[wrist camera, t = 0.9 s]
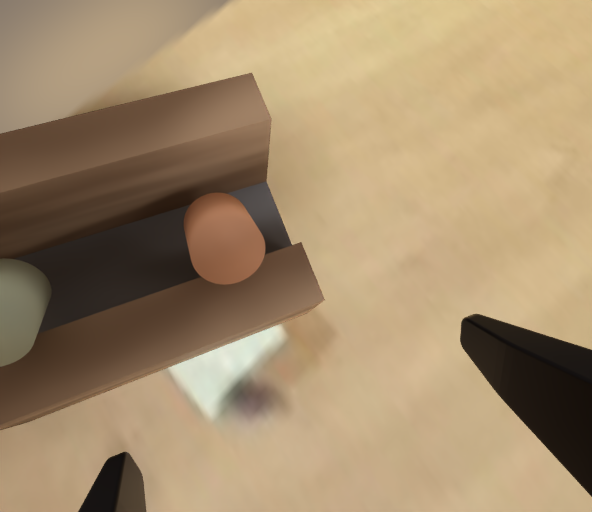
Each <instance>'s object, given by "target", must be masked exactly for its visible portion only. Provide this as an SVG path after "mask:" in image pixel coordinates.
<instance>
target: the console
mask: <svg viewBox="0 0 592 512" xmlns="http://www.w3.org/2000/svg"><path fill="white" fill-rule="evenodd" d="M270 130H271V117H270V114H269V112H268V110H267V107H266V105H265V103H264V100H263V98H262V95H261V93H260V91H259V88H258V86H257V84H256V81H255V79H254V77H253V74H252V73H249V74H245V75H241V76H237V77H233V78H228V79H224V80H220V81H216V82H212V83H208V84H204V85H200V86H195V87H191V88H187V89H183V90H179V91H175V92H171V93H167V94H162V95H158V96H154V97H150V98H146V99H142V100H138V101H134V102H130V103H125V104H121V105H117V106H113V107H109V108H105V109H101V110H97V111H92V112H88V113H84V114H80V115H76V116H72V117H68V118H64V119H59V120H55V121H51V122H47V123H43V124H39V125H35V126H31V127H27V128H23V129H18V130H14V131H10V132H6V133H2V134H0V259H2V258H6V259H15V260H20V261H23V262H26V263H29V264H31V265H33V266H34V267H36V268H38V269H39V270H40V271H41V272H42V273H43V274H44V275H45V276H46V277H47V278H48V280H49V282H50V285H51V289H52V294H51V298H50V301H49V303H48V306H47V309H46V312H45V314H44V317H43V320H42V322H41V325H40V328H39V331H38V333H37V336H36V339H35V341H34V344H33V346H32V348H31V350H30V351H29V352H28V353H27V354H26V355H25V356H24V357H22V358H21V359H19V360H17V361H16V362H13V363H11V364H8V365H5V366H1V367H0V430H3V429H6V428H9V427H13V426H16V425H20V424H23V423H26V422H29V421H32V420H35V419H37V418H40V417H42V416H45V415H47V414H50V413H53V412H55V411H58V410H60V409H63V408H65V407H68V406H70V405H73V404H76V403H78V402H81V401H83V400H86V399H88V398H91V397H94V396H96V395H99V394H101V393H104V392H106V391H109V390H112V389H114V388H117V387H119V386H122V385H124V384H127V383H129V382H132V381H135V380H137V379H140V378H142V377H145V376H147V375H150V374H153V373H155V372H158V371H160V370H163V369H165V368H168V367H170V366H173V365H176V364H178V363H181V362H183V361H186V360H188V359H191V358H194V357H196V356H199V355H201V354H204V353H206V352H209V351H211V350H214V349H217V348H219V347H222V346H224V345H227V344H229V343H232V342H235V341H237V340H240V339H242V338H245V337H247V336H250V335H252V334H255V333H258V332H260V331H263V330H265V329H268V328H270V327H273V326H276V325H278V324H281V323H283V322H286V321H288V320H291V319H293V318H296V317H299V316H301V315H304V314H306V313H308V312H310V311H311V310H312V309H313V308H315V307H316V306H317V305H319V304H320V303H321V302H322V301H324V300H325V299H324V297H323V294H322V292H321V290H320V287H319V285H318V282H317V280H316V277H315V275H314V272H313V270H312V268H311V265H310V263H309V260H308V258H307V255H306V253H305V250H304V248H303V245H302V243H301V242H300V243H297V244H295V245H292V244H291V241H290V239H289V237H288V234H287V232H286V229H285V227H284V224H283V222H282V219H281V217H280V214H279V212H278V209H277V207H276V204H275V202H274V199H273V197H272V194H271V192H270V189H269V187H268V184H267V182H266V179H267V167H268V155H269V142H270ZM209 193H226V194H229V195H231V196H233V197H235V198H237V199H238V200H239V201H240V202H241V203H242V204H243V205H244V207H245V208H246V210H247V211H248V213H249V215H250V216H251V218H252V219H253V221H254V222H255V224H256V226H257V227H258V229H259V230H260V232H261V233H262V235H263V238H264V241H265V255H264V258H263V261H262V263H261V265H260V266H259V268H258V269H257V270H256V271H255V272H254V273H253V274H252V275H251V276H249V277H248V278H246V279H245V280H243V281H240V282H237V283H234V284H226V285H224V284H215V283H212V282H209V281H207V280H205V279H204V278H202V277H201V276H200V275H199V274H198V273H197V272H196V270H195V269H194V267H193V265H192V261H191V257H190V253H189V249H188V244H187V240H186V235H185V231H184V217H185V213H186V211H187V209H188V208H189V206H190V205H191V204H192V203H193V202H194V201H195V200H196V199H198V198H199V197H201V196H203V195H206V194H209Z"/></svg>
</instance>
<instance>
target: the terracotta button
mask: <svg viewBox="0 0 592 512" xmlns="http://www.w3.org/2000/svg"><path fill="white" fill-rule="evenodd" d="M184 231H185V235H186V240H187V244H188V249H189V253H190V257H191V261H192V265H193V267H194V269H195V270H196V272H197V273H198V274H199V275H200V276H201V277H202V278H204V279H205V280H207V281H209V282H212V283H215V284H224V285H226V284H234V283H237V282H240V281H243V280H245V279H246V278H248V277H249V276H251V275H252V274H253V273H254V272H255V271H256V270H257V269H258V268H259V266H260V265H261V263H262V261H263V258H264V255H265V241H264V238H263V235H262V233H261V232H260V230H259V229H258V227H257V226H256V224H255V222H254V221H253V219H252V218H251V216H250V215H249V213H248V211H247V210H246V208H245V207H244V205H243V204H242V203H241V202H240V201H239V200H238V199H237V198H235V197H233V196H231V195H229V194H226V193H209V194H206V195H203V196H201V197H199V198H198V199H196V200H195V201H194V202H193V203H192V204H191V205H190V206H189V208H188V209H187V211H186V213H185V217H184Z"/></svg>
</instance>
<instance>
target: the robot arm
mask: <svg viewBox="0 0 592 512" xmlns="http://www.w3.org/2000/svg"><path fill="white" fill-rule="evenodd" d="M460 342H461V345H462V347H463V349H464V350H465V352H466V353H467V354H468V356H469V357H470V358H471V360H472V361H473V362H474V364H475V365H476V366H477V367H478V369H479V370H480V371H481V373H482V374H483V375H484V377H485V378H486V379H487V381H488V382H489V383H490V385H491V386H492V387H493V389H494V390H495V391H496V392H497V394H498V395H499V396H500V397H501V398H502V399H503V400H504V402H505V403H506V404H507V405H508V406H509V407H510V408H511V409H512V410H513V411H514V412H515V414H516V415H517V416H518V417H519V418H520V419H521V420H522V421H523V422H524V423H525V424H526V426H527V427H528V428H529V429H530V430H531V431H532V432H533V433H534V434H535V435H536V436H537V438H538V439H539V440H540V441H541V442H542V443H543V444H544V445H545V446H546V447H547V448H548V450H549V451H550V452H551V453H552V454H553V455H554V456H555V457H556V458H557V459H558V460H559V462H560V463H561V464H562V465H563V466H564V467H565V468H566V469H567V470H568V471H569V472H570V474H571V475H572V476H573V477H574V478H575V479H576V480H577V481H578V482H579V483H580V484H581V486H582V487H583V488H584V489H585V490H586V491H587V492H588V493H589V494H590V495H591V496H592V350H591V349H587V348H584V347H581V346H578V345H575V344H572V343H568V342H565V341H562V340H559V339H556V338H553V337H549V336H546V335H543V334H540V333H537V332H534V331H530V330H527V329H524V328H521V327H518V326H515V325H511V324H508V323H505V322H502V321H499V320H496V319H493V318H489V317H486V316H483V315H480V314H473V315H470V316H468V317H465V318H464V319H463V320H462V323H461V336H460ZM78 512H146V503H145V493H144V482H143V476H142V473H141V471H140V469H139V468H138V466H137V465H136V463H135V462H134V460H133V459H132V457H131V455H130V454H129V453H128V452H123V453H120V454H117V455H115V456H112V457H110V458H109V459H108V460H107V461H106V462H105V464H104V466H103V468H102V469H101V471H100V473H99V475H98V477H97V479H96V480H95V482H94V484H93V486H92V488H91V489H90V491H89V493H88V495H87V497H86V499H85V500H84V502H83V504H82V506H81V508H80V510H79V511H78Z"/></svg>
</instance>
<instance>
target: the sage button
mask: <svg viewBox="0 0 592 512" xmlns="http://www.w3.org/2000/svg"><path fill="white" fill-rule="evenodd" d="M51 294H52V289H51V285H50V282H49V280H48V278H47V277H46V276H45V275H44V274H43V273H42V272H41V271H40V270H39V269H38V268H36V267H34V266H33V265H31V264H29V263H26V262H23V261H20V260H15V259H6V258H2V259H0V367H1V366H5V365H8V364H11V363H13V362H16V361H17V360H19V359H21V358H22V357H24V356H25V355H26V354H27V353H28V352H29V351H30V350H31V348H32V346H33V344H34V341H35V339H36V336H37V333H38V331H39V328H40V325H41V322H42V320H43V317H44V314H45V312H46V309H47V306H48V303H49V301H50V298H51Z"/></svg>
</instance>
